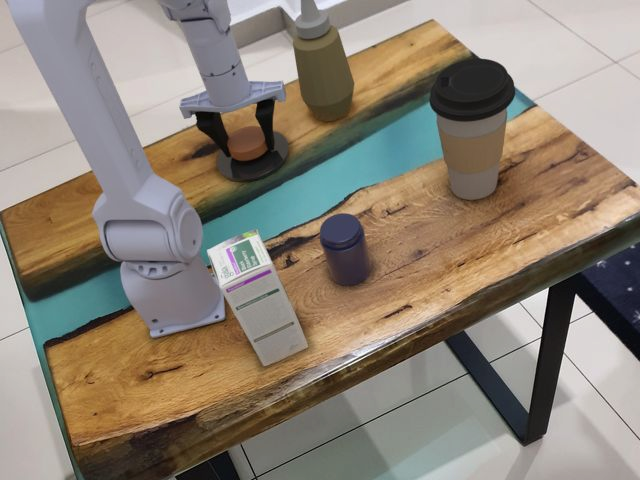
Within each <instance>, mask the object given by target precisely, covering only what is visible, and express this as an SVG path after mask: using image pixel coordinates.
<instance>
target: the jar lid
mask: <svg viewBox="0 0 640 480" xmlns="http://www.w3.org/2000/svg"><path fill="white" fill-rule="evenodd" d="M228 137H229V139H228V141H227V146H228V149H229V152H230V154H231V157H233V158H234V159H236V160H240V161H247V160H252V159H255V158H257V157H259V156H261V155H262V154H264V153H265V152H266V150H267V149H268V147H267V144H266V140H265V137H264V133H263V131H262V129H261V127H260V126H257V125H250V126H244V127H242V128H239V129H237V130H236V131H234V132H232V133H231V135H229V136H228Z"/></svg>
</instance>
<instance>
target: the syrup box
mask: <svg viewBox="0 0 640 480" xmlns="http://www.w3.org/2000/svg"><path fill="white" fill-rule="evenodd" d="M206 253H207V256H208V259H209V262H210V265H211V268H212V273H214V275H215V276H214V277H216V279H217V282H218V284H219V287H220V289H221V291H222V292H223V294H224V299H225V300H226V301H227V304H228V305H229V307H230V309H231V311H232V313H233V315H234V316H235V318H236V320H237V321H238V324H239V326H240V328H241V329H242V331H243V333H244V334H245V336H246V338H247V339H248V342H249V343H250V345H251V347H252V348H253V350H254V353H255V355H256V356H257V358H258V359H259V362H260V363H261V365H262V366H263V367H268V366H270V365H273V364H275V363H277V362H280V361H282V360H284V359H286V358H289V357H291V356H293V355H295V354H297V353H299V352H302V351H303V350H306V349H308V348H309V344H308V340H307V339H306V336H305V334H304V332H303V329H302V326H301V324H300V322H299V319H298V317H297V314H296V312H295V309H294V307H293V305H292V303H291V300H290V298H289V295H288V293H287V290H286V289H285V286H284V283H283V281H282V279H281V277H280V275H279V273H278V271H277V269H276V267H275V265H274V262H273V260H272V259H271V258H272V257H271V255H270V254H269V252H268V250H267V248H266V246H265V244H264V241H263V239H262V237H261V235H260V232H259V230H258V229H256V228H255V229H252V230H248V231H246V232H243V233H240V234H238V235H235V236H233V237H231V238H228V239H226V240H224V241H222V242H220V243H218V244H216V245H214V246H213V247H211V248H208V249H206Z"/></svg>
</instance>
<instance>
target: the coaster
mask: <svg viewBox="0 0 640 480" xmlns="http://www.w3.org/2000/svg"><path fill="white" fill-rule="evenodd" d="M273 134H274V140H275V145H274V150H271V151H269V149H267V150H266V152H265V153H264V154H262V155H261V156H259V157H257V158H255V159H252V160H247V161H240V160H236V159H234V158H233V157H228V158H227V157H226V155H225V154H224V153H223V151H222V150H221V149H220V152H219V154H218V156H217V159H216V166H217V170H218V171H219V174H221V176H222V177H224V178H225V179H226V180H228V181H232V182H235V183H236V182H237V183H251V182H255V181H256V182H257V181H259V180H262V179H264V178H267V177H269V176H271V175H272V174H274V173H276V172H277V171H279V169H280V168H282V167H283V166H284V164H285V163H286V161H287V160H288V159H289V155H290V153H291V152H290V151H291V148H290V143H289V141H288V139H287V138H286V137H285V136H284V135H283V134H282V133H280V132H278V131H275V130H273Z"/></svg>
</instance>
